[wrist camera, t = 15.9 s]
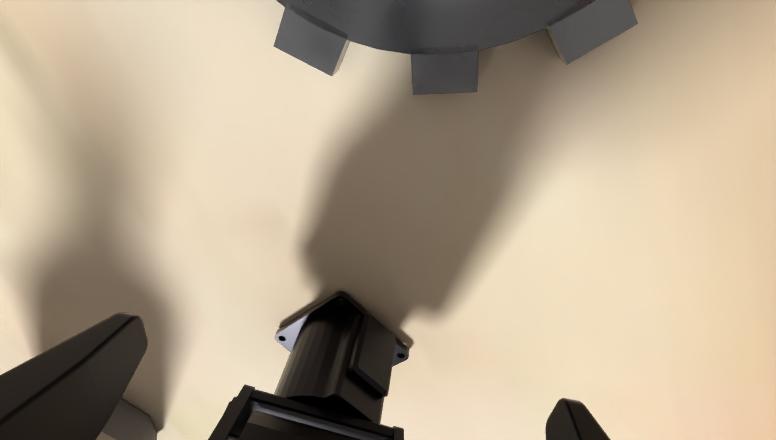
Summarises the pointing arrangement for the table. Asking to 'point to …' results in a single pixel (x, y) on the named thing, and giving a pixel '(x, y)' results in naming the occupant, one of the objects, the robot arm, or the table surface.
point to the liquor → (128, 424)
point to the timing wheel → (444, 32)
